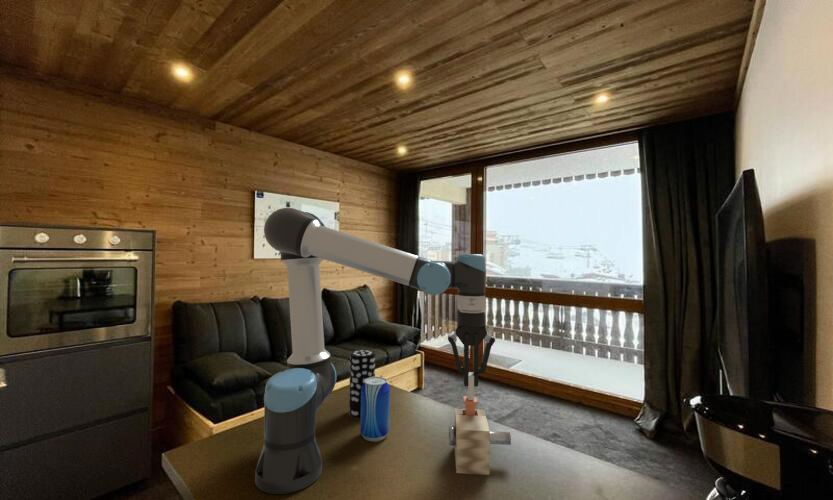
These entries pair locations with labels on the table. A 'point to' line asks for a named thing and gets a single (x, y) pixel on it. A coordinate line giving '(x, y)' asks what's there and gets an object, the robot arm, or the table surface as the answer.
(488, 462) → the block
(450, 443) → the pin
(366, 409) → the beer can
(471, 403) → the plunger
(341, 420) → the table surface
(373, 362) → the spotted tube
